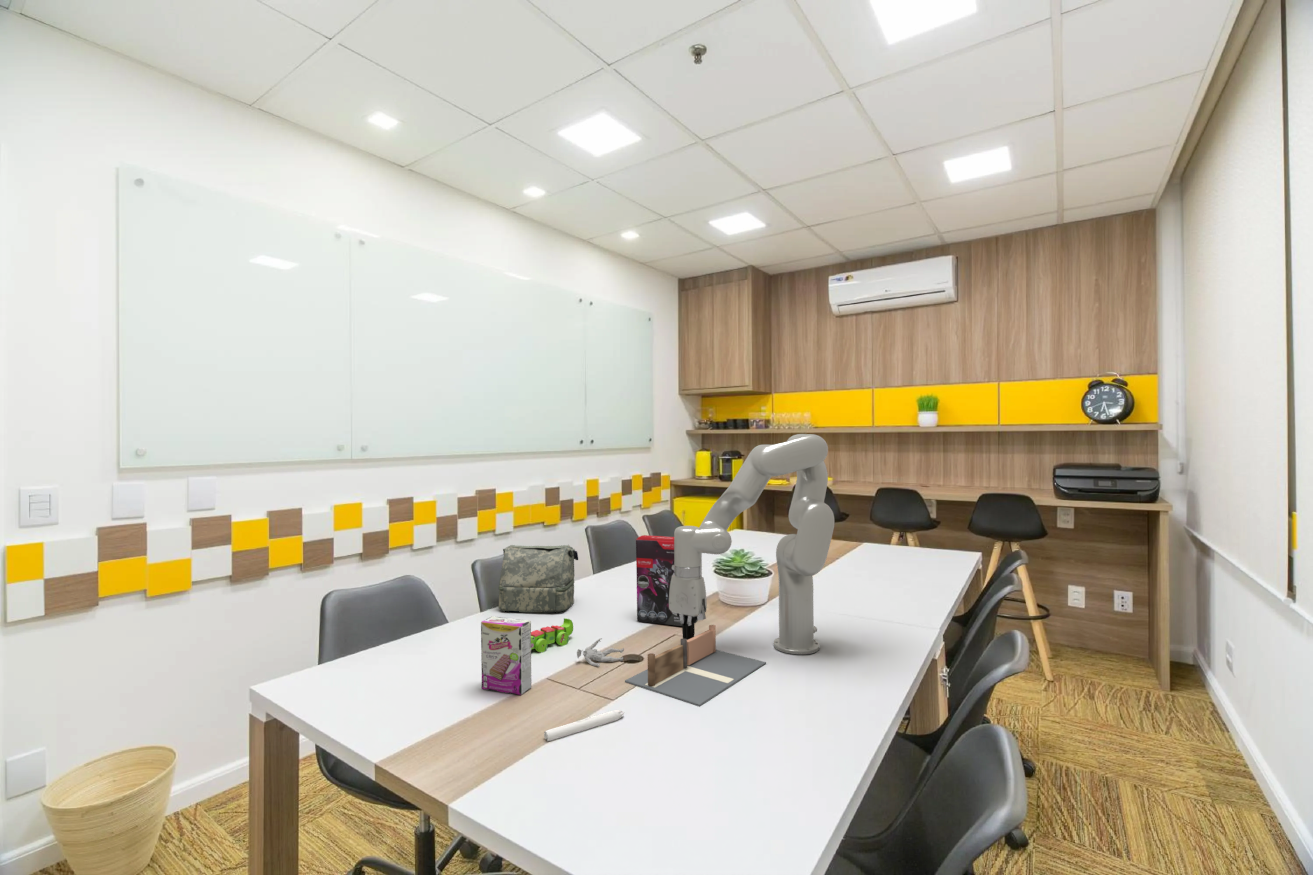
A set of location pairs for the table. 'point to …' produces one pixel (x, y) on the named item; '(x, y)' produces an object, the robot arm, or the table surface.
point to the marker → (582, 725)
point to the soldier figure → (598, 654)
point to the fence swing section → (701, 645)
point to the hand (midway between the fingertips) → (688, 637)
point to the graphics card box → (654, 579)
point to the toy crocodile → (551, 635)
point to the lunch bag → (537, 578)
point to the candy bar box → (506, 655)
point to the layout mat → (702, 677)
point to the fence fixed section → (667, 663)
